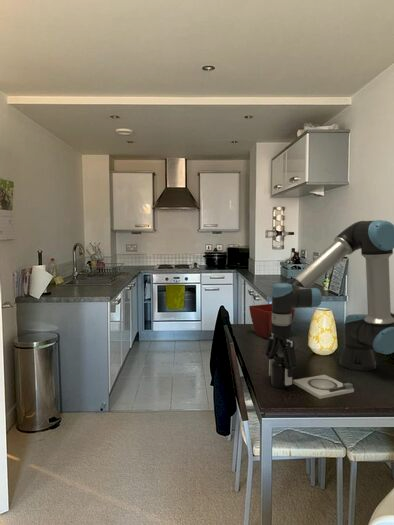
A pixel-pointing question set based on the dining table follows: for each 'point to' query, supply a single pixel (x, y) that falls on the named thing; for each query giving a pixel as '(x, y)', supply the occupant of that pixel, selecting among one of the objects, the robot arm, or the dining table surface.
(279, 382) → the supplement bottle
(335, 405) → the dining table surface
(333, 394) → the record player
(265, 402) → the dining table surface
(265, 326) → the plant pot
